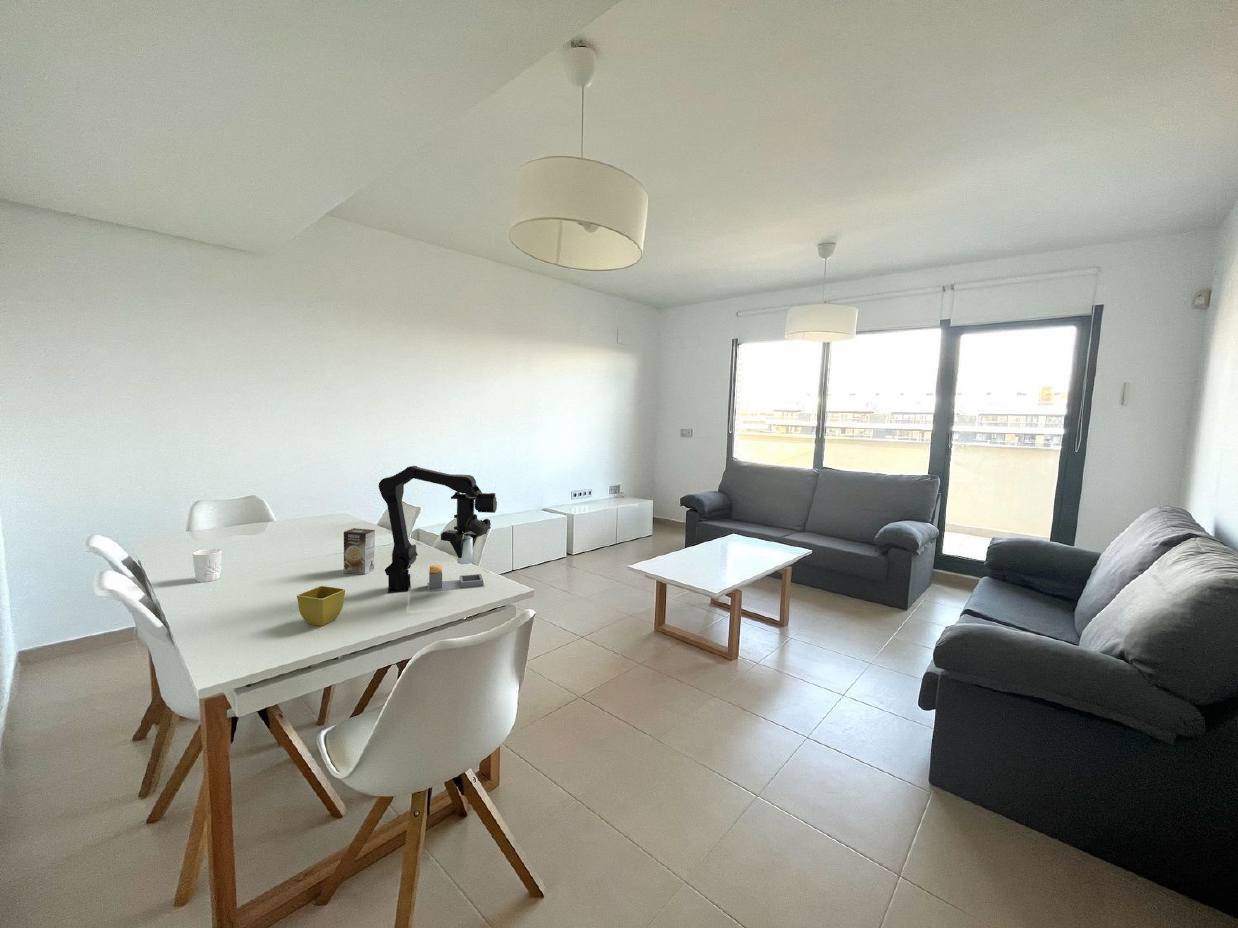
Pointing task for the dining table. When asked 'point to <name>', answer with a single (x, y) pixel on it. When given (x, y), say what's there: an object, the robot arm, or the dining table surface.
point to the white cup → (207, 564)
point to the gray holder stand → (453, 582)
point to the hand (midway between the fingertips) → (464, 555)
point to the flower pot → (321, 604)
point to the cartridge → (466, 551)
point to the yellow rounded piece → (435, 569)
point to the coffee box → (359, 551)
